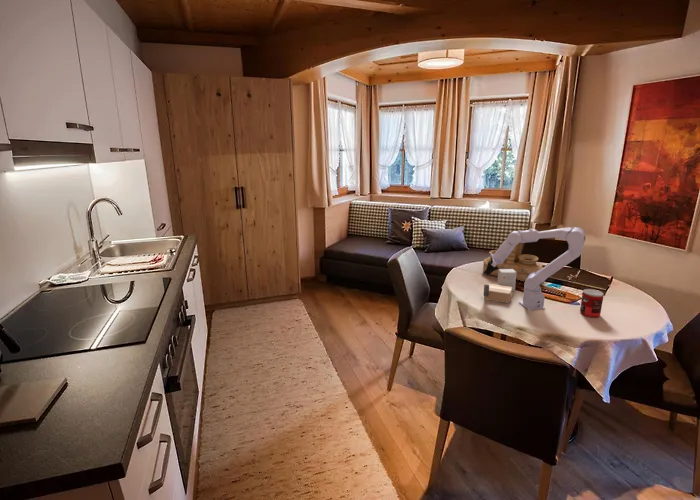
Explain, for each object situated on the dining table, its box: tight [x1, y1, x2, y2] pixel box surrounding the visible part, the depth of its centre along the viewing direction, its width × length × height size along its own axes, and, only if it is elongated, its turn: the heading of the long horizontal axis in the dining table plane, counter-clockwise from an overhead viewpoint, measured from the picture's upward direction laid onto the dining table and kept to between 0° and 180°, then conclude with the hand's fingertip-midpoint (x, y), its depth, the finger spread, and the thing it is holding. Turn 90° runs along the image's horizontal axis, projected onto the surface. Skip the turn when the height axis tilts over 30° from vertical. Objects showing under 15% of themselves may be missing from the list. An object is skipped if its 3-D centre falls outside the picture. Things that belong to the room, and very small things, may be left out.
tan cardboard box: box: [483, 283, 510, 304], centre depth 181 cm, size 12×6×9 cm, turn 60°
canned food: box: [579, 288, 605, 318], centre depth 166 cm, size 8×8×11 cm
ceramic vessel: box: [482, 242, 544, 282], centre depth 215 cm, size 34×18×25 cm, turn 48°
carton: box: [487, 283, 513, 303], centre depth 188 cm, size 12×9×5 cm
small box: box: [496, 269, 517, 291], centre depth 198 cm, size 8×6×10 cm
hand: (487, 271), depth 187 cm, fingers open, 7 cm apart
